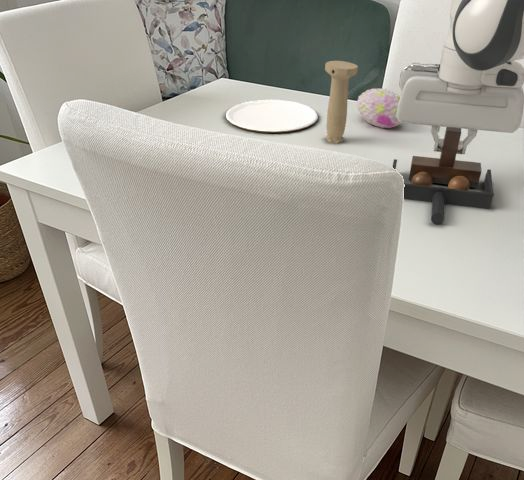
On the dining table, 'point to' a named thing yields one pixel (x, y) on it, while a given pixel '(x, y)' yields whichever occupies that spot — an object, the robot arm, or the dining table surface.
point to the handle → (338, 98)
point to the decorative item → (379, 107)
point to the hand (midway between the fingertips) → (449, 151)
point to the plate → (271, 116)
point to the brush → (447, 162)
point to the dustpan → (449, 196)
